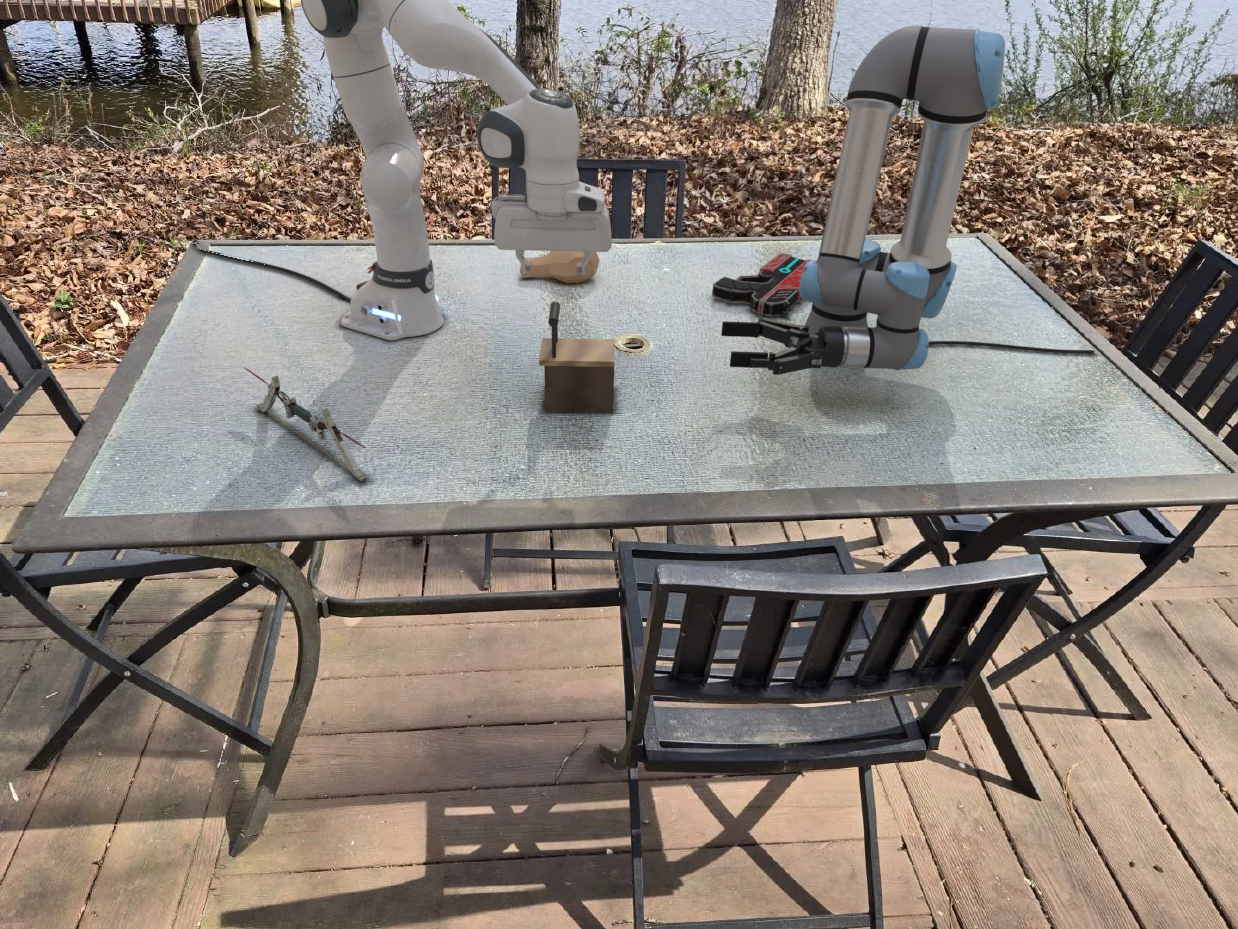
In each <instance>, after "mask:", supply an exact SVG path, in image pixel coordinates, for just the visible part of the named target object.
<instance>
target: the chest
mask: <svg viewBox="0 0 1238 929" xmlns="http://www.w3.org/2000/svg"><path fill="white" fill-rule="evenodd" d="M543 368H544V369H543V370H544V372H543V373H544V404H545V406H544V408H545V411H544V412H545V413H587V414H589V413H591V414H595V413H596V414H613V413H614V403H615V402H614V401H615V400H614V397H615V396H614V395H615V394H614V393H615V389H614V388H615V366H614V367H578V366H543Z"/></svg>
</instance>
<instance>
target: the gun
mask: <svg viewBox="0 0 1238 929" xmlns="http://www.w3.org/2000/svg"><path fill="white" fill-rule="evenodd" d="M808 261H813V260H812V259H802V258H799V257H795V256H793V255H792V254H791V253H784V252H780V253H778V254H777V255H775V256H774V257H773V258H771V259H770V260H768V261H767V262H766V263H765V264H763V265H762V266H761V267H760V269H759V271H758V273H757V274H756V275H753V274H752V275H751V274H750V275H740V276H738V277H737V278H735V279H734V278H731V277H727V276H722V277H720V279H717V281H715V282H713V283H712V291H711V297H713V298H714V299H716V300H719V301H723V302H727V303H730V304H750V305H749V308H750V310H751V312H753V313H755V314H757V315H758V316H760V317H762V316H765V317H770V318H771V317H777V316H780V317H784V318H787V317H788V315H789V311H788V310H790V309H791V308H792V307H793V306H794V305H795V304H798V303H799V302H801V301H803V299H802V298H801V297H800V282H801V277H802V273H803V269H804V267H805V264H806V263H807V262H808Z"/></svg>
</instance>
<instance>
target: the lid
mask: <svg viewBox="0 0 1238 929" xmlns="http://www.w3.org/2000/svg"><path fill="white" fill-rule="evenodd" d="M560 310H561V304H560V303H559V301H553V302H552V301H551V303H550V308H549V315H548V323H547V324H548V326H550V327H551V337H542V338H541V343H540V344H541V345H540V350H539V357H538V366H539V367H544V366H578V367H614V368H615V339H613V338H562V337H561V338H559V334H558V332H559V330H558V329H559V328H558V327H559V319H560V312H561V311H560Z"/></svg>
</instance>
